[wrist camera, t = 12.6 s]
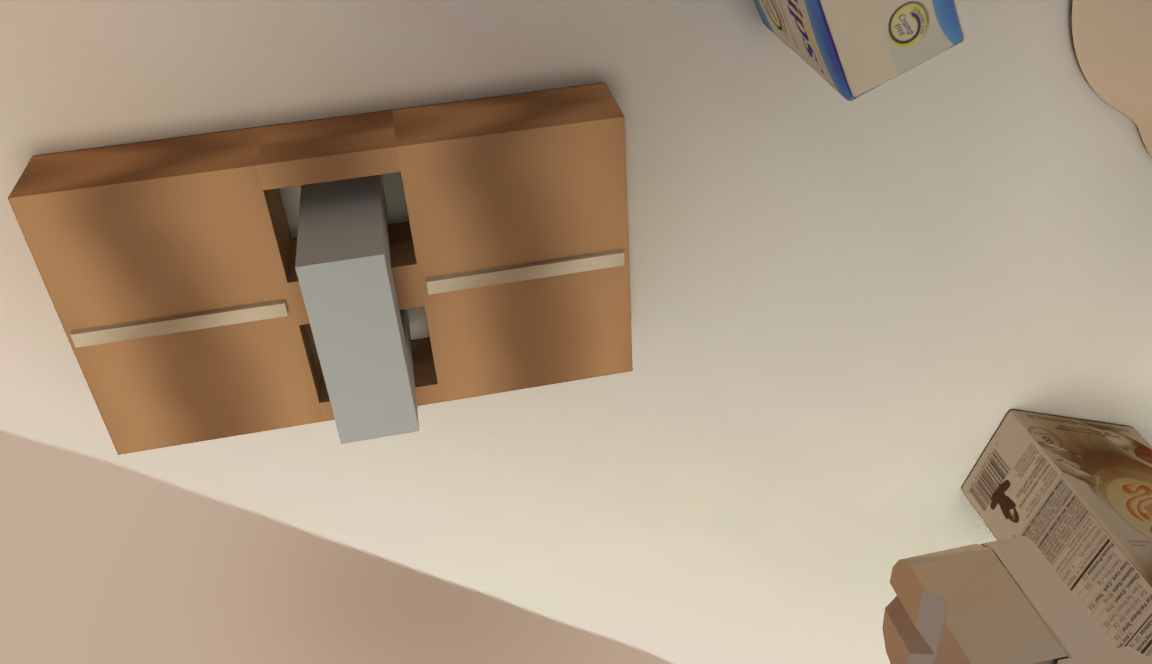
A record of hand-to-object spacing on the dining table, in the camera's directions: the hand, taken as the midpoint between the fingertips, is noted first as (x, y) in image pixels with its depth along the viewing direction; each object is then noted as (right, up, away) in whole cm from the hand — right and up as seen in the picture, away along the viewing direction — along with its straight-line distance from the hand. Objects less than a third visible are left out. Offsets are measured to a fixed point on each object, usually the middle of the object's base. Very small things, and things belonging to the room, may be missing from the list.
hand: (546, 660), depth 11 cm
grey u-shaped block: (-9, +7, +32) cm, 34 cm away
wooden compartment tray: (-9, +7, +32) cm, 34 cm away
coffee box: (+27, -4, +48) cm, 55 cm away
